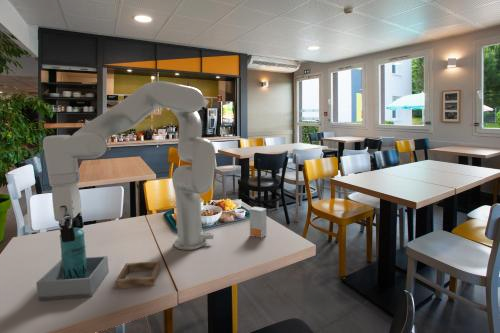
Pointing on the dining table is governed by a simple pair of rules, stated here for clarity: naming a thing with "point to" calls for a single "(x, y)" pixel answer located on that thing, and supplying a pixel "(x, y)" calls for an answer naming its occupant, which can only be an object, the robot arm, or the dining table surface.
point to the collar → (138, 282)
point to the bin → (72, 281)
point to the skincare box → (258, 221)
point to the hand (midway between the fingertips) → (73, 234)
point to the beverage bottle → (74, 254)
